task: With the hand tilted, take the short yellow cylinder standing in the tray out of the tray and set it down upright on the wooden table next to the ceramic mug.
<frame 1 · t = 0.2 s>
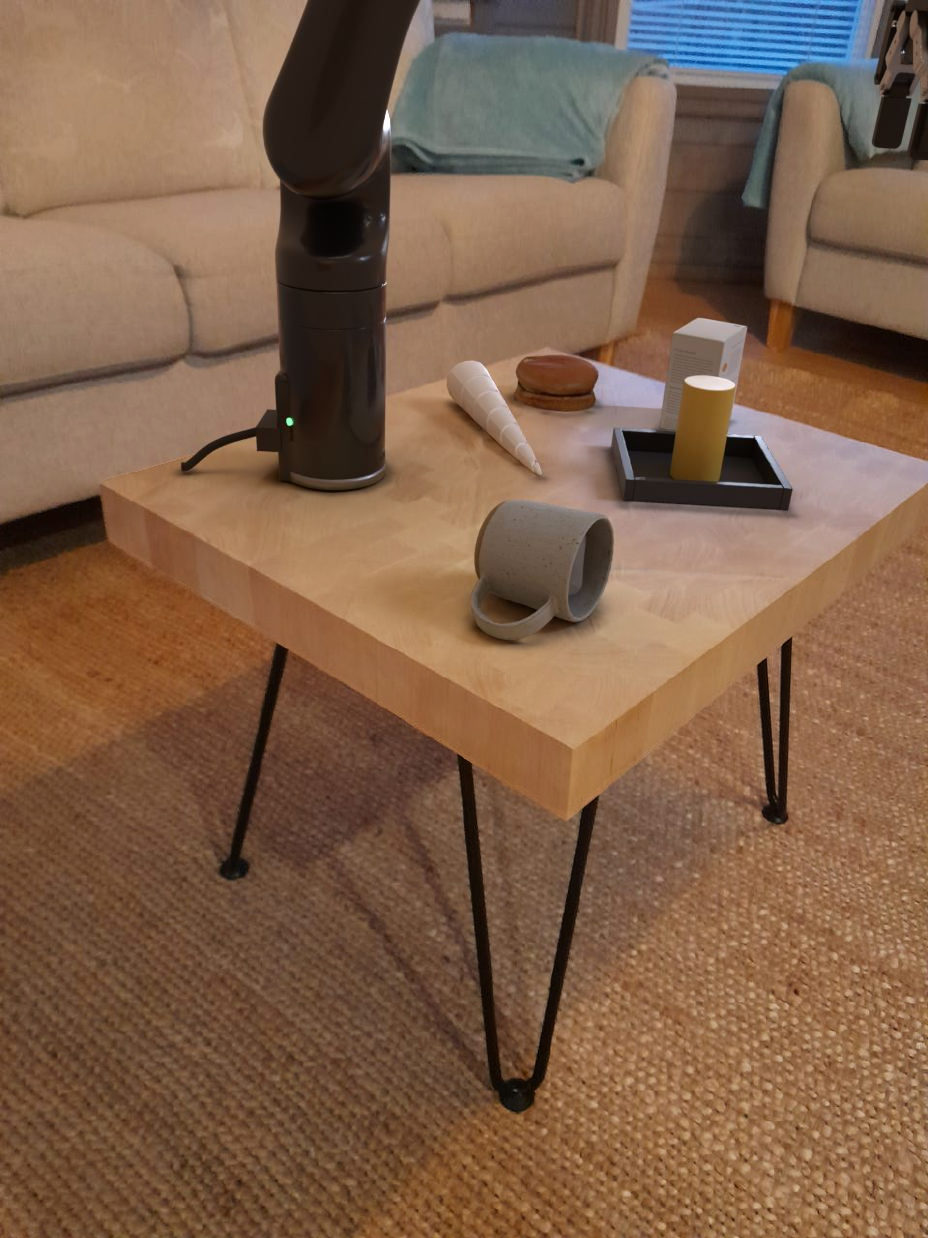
hand: (902, 153, 81), 29 cm above the table, tool pointing down, fingers open, 8 cm apart
unicorn horn: (498, 436, 107), on the table
yellow cylinder: (694, 476, 98), resting on tray
tray: (693, 481, 98), on the table
small box: (694, 428, 112), on the table
ceramic mug: (533, 613, 75), on the table
burger: (553, 402, 118), on the table
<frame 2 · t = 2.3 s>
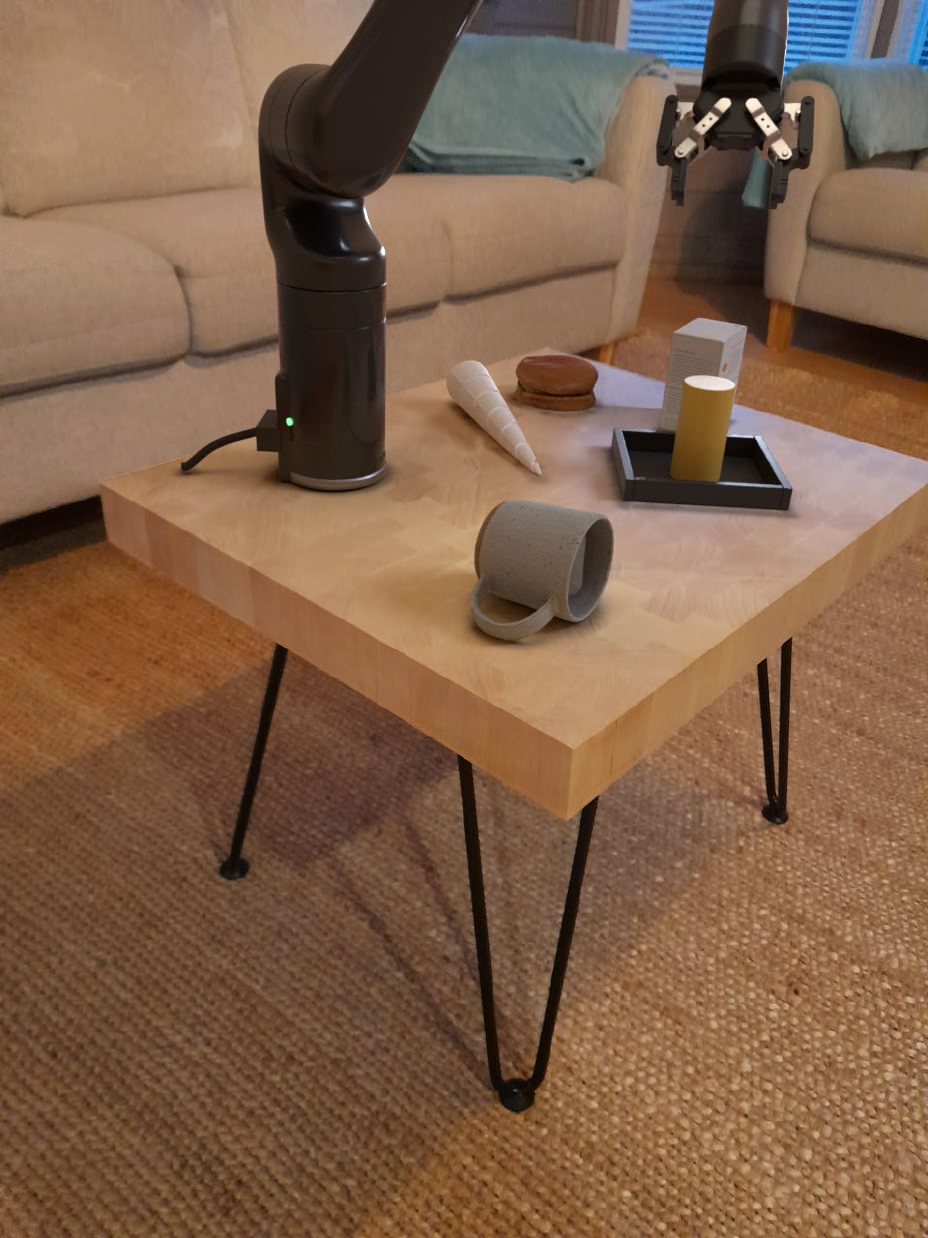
hand: (726, 203, 97), 23 cm above the table, tool tilted 40°, fingers open, 8 cm apart
nothing on the table moved.
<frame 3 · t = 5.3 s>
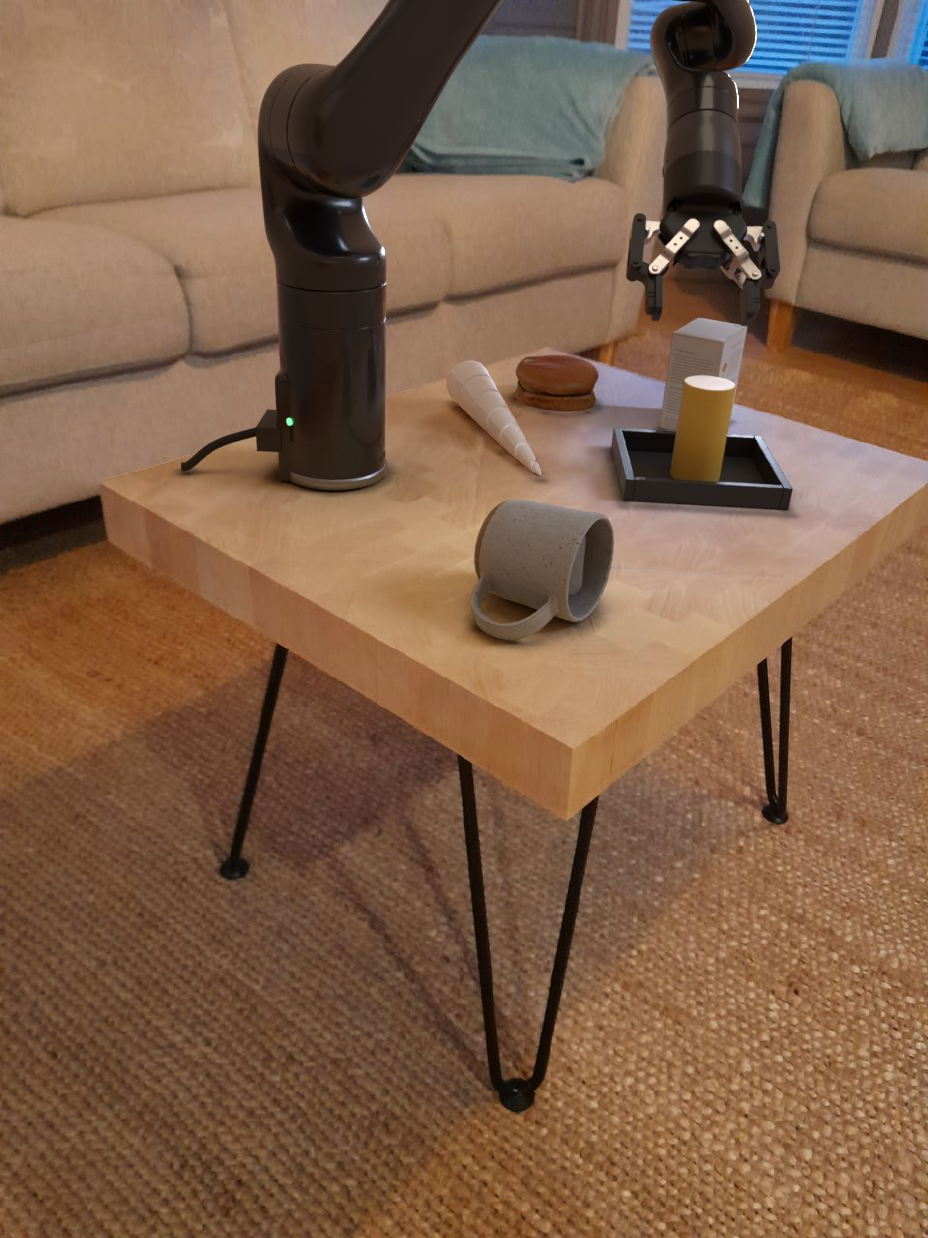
hand: (702, 319, 99), 13 cm above the table, tool tilted 45°, fingers open, 8 cm apart
nothing on the table moved.
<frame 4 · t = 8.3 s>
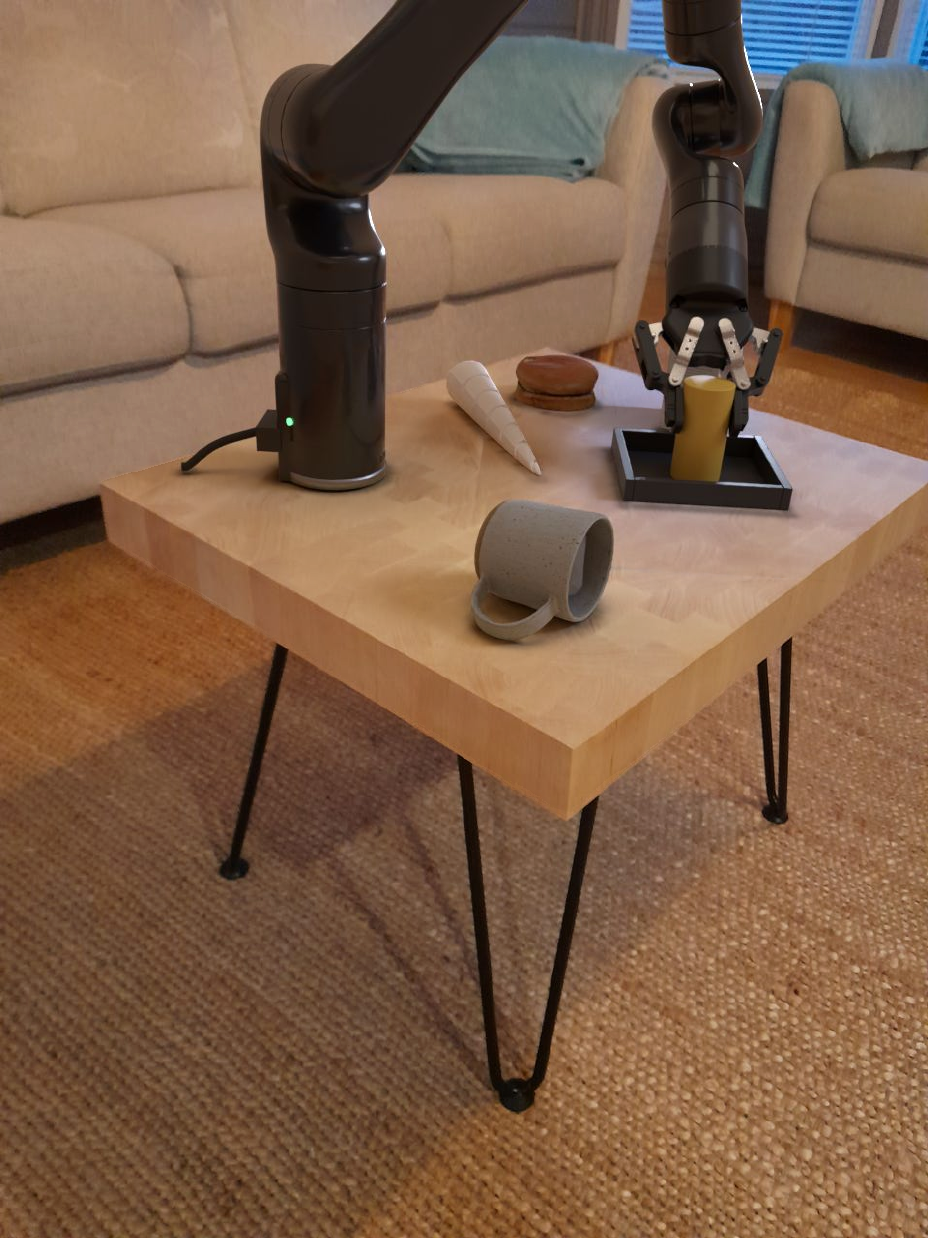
hand: (706, 430, 94), 6 cm above the table, tool tilted 45°, fingers closed on yellow cylinder, 4 cm apart
yellow cylinder: (694, 476, 98), point 1 cm above the table, touching gripper, tray
everything else where it was.
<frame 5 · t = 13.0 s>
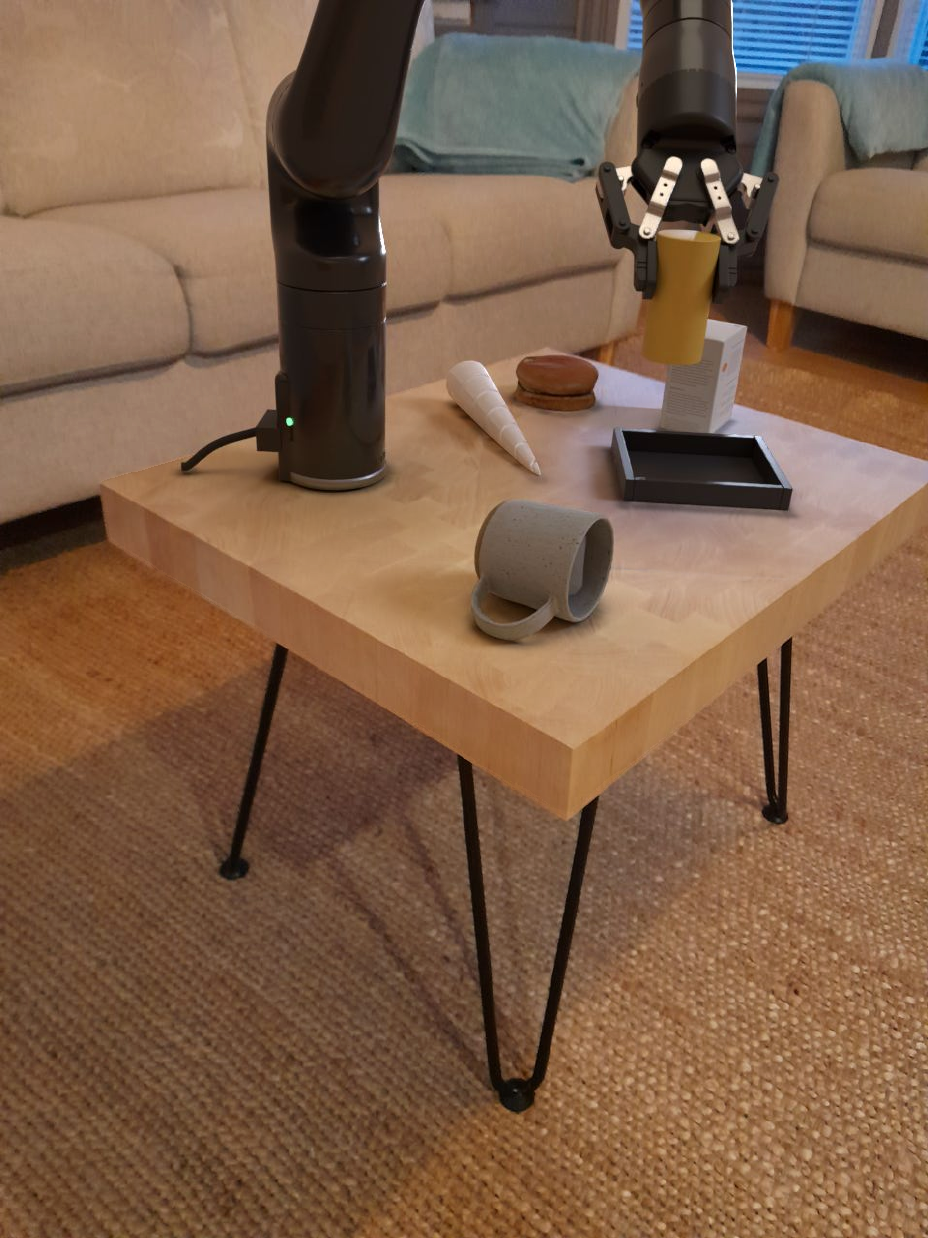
hand: (685, 294, 76), 20 cm above the table, tool tilted 45°, fingers closed on yellow cylinder, 4 cm apart
yellow cylinder: (670, 356, 81), point 15 cm above the table, touching gripper
everything else where it was.
when the fingers open (5 cm above the table, at t = 18.0 s): yellow cylinder stays where it is, on the table.
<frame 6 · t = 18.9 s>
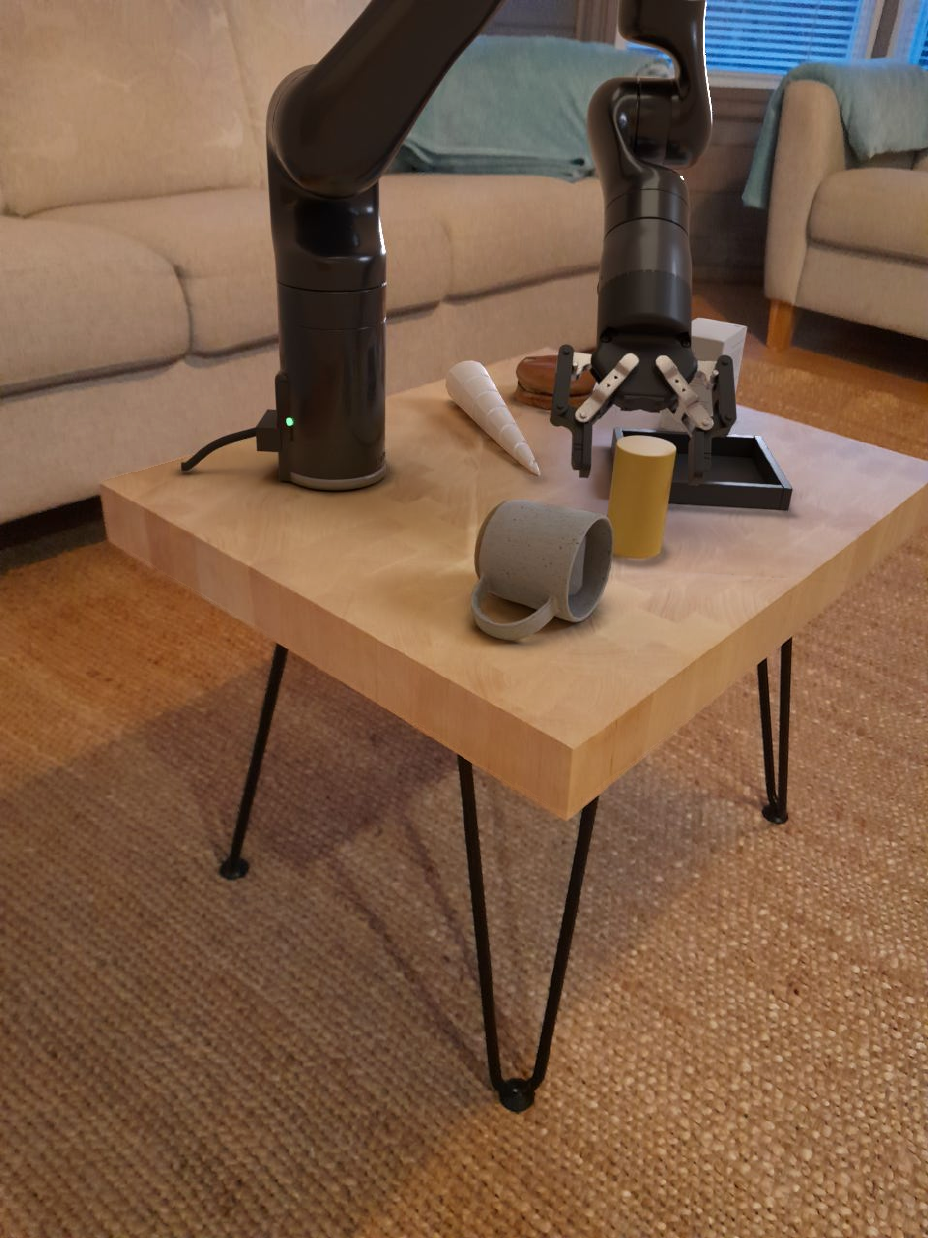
hand: (640, 478, 80), 7 cm above the table, tool tilted 45°, fingers open, 8 cm apart
yellow cylinder: (631, 550, 84), on the table
everything else where it was.
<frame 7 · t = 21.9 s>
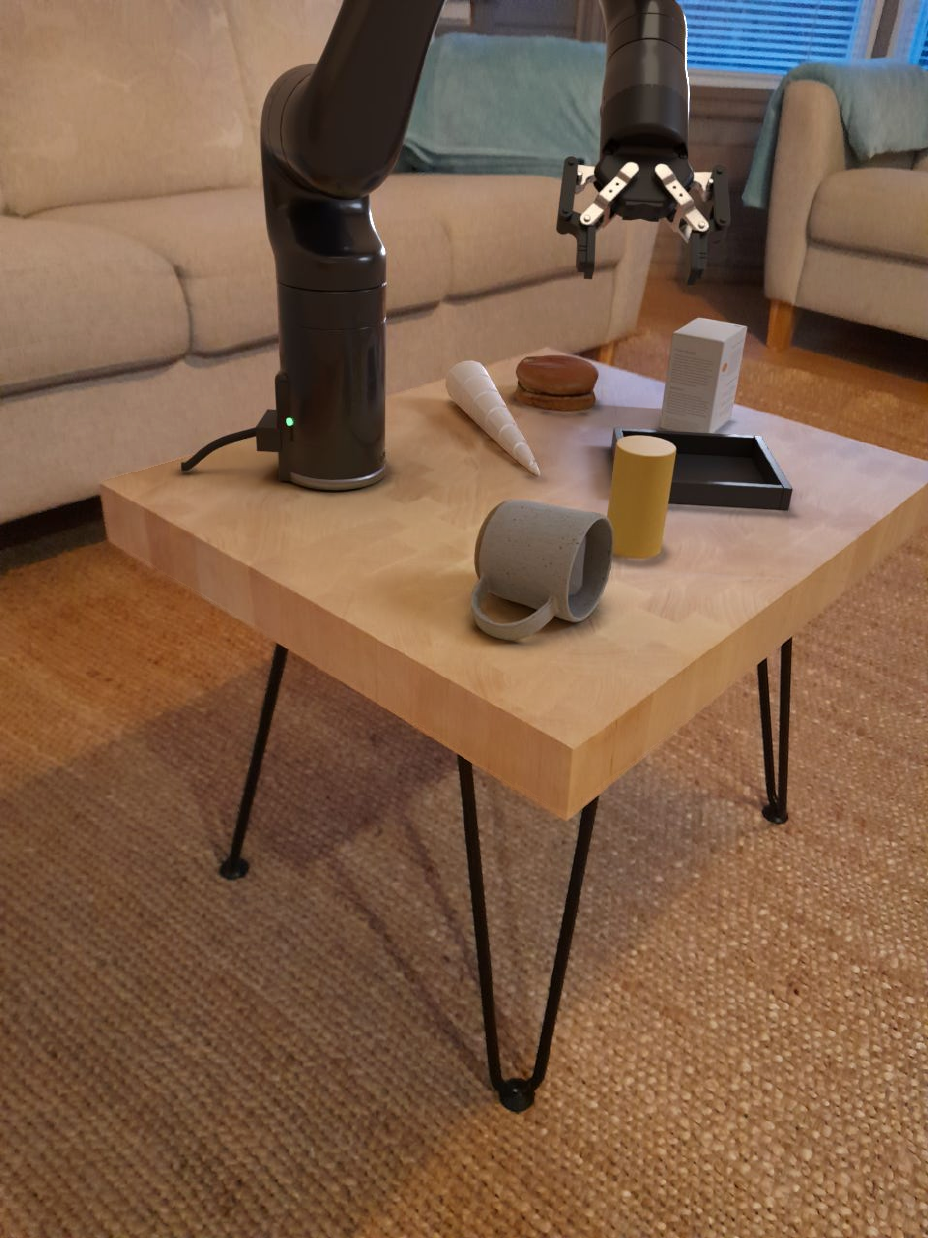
hand: (640, 276, 86), 19 cm above the table, tool tilted 45°, fingers open, 8 cm apart
nothing on the table moved.
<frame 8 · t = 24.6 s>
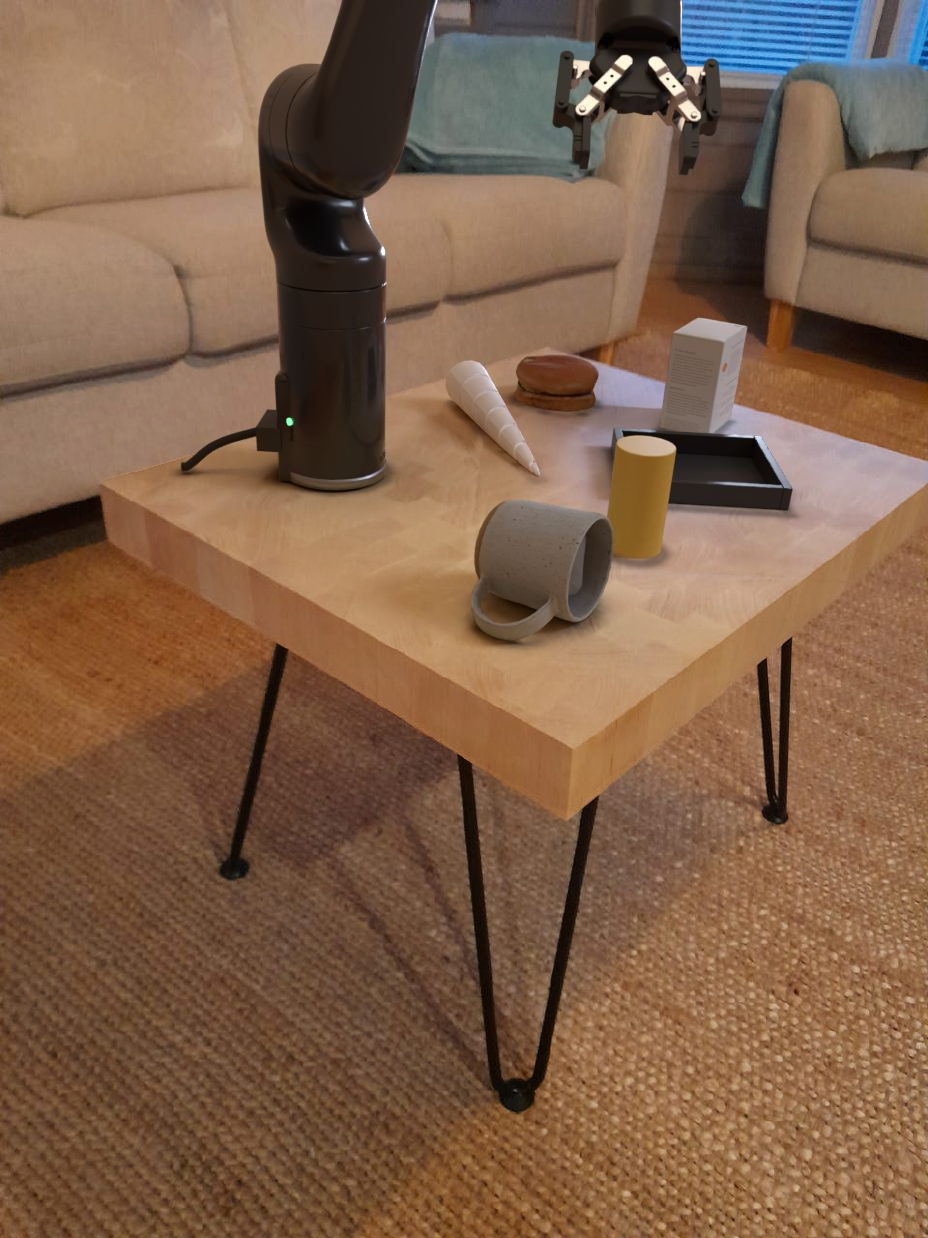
hand: (635, 165, 88), 27 cm above the table, tool tilted 45°, fingers open, 8 cm apart
nothing on the table moved.
at the end: yellow cylinder 13.7 cm from the ceramic mug (horizontally); yellow cylinder inside the target area (0.1 cm from its centre), on the table; yellow cylinder tilted 0° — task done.
